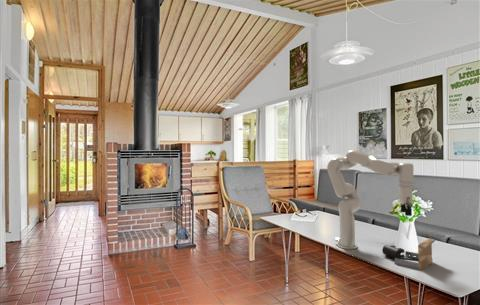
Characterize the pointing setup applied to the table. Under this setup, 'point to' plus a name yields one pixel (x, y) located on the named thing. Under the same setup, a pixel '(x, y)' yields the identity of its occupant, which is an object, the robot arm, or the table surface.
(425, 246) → the wall board
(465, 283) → the table surface
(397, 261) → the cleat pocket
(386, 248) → the end cap
